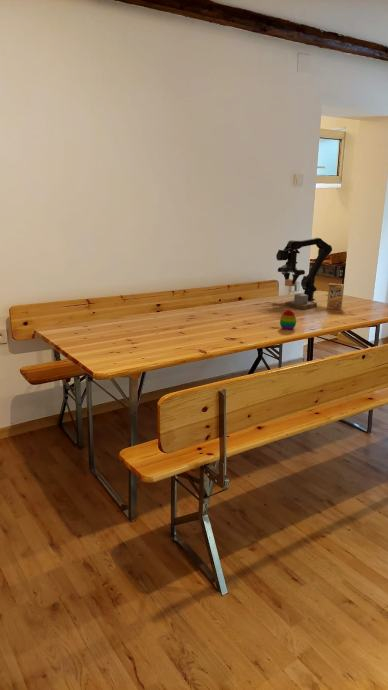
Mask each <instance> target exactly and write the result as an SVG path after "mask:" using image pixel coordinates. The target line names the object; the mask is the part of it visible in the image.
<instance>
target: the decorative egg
mask: <svg viewBox="0 0 388 690" xmlns="http://www.w3.org/2000/svg"><path fill="white" fill-rule="evenodd" d="M296 317H297V316H296V315H295V313H294V312H293V310H291V309H286V310H285V311H283V313H282V314H281V316H280V320H279V324H280V325H279V326H280V328H282V329H283V330H287V331H291V330H294V329H295V327H296V324H297V318H296Z"/></svg>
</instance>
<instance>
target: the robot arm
mask: <svg viewBox="0 0 388 690" xmlns="http://www.w3.org/2000/svg"><path fill="white" fill-rule="evenodd" d="M314 245H315V246H316V247H317V248H318V251H317V256H316V259H315V260H314V262H313V265H312V267H311V268H310V270H309V272H308V274H307V275H305V273H306V271H305V270H304V269H298V267H297V264H298V261H297V258H298V257H297V256H298V254H300V253H301V252H300V251H299V249H301V248H304V247H309V246H314ZM332 251H333V246H332V245H331V244H328V243H327V242H326V241H324V240H323V239H322V238H320V237H315V238H308V239H303V240H288V241H287V244H286V246H285V247H284V248H283V249H278V252H277V253H276V255H275V256H276V261H286V262H285V264H283V265H282V266H280V267H279V266H278V268H277V272H279V273H281V275H283V277H284V280H285V279H290V274H291V273H292V274H291V276H292V279H293V285H294V284H295V282H296V281H298V279H299V277H300V276H303V277H302V279H301V281H300V282H301V283H300V287H302V290H303V294H305V295H308V302H312V301H316V298H314V295H315V294H314V293H315V292H316V291H317V287H316V286H315V283H316V281H315V280H316V277H317V275H318V273H319V271H320V268H321V267H322V264H323V263H324V261H325V259H326V258H327V257H329V256H330V254H331V253H332ZM296 283H297V282H296Z"/></svg>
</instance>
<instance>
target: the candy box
mask: <svg viewBox="0 0 388 690" xmlns="http://www.w3.org/2000/svg"><path fill="white" fill-rule="evenodd" d="M344 287H345V284H344V283H329V284H328V290H327V300H326V301H327V303H326V309H332V310H340V311H341V310H342V307H343V299H344V290H345V289H344Z"/></svg>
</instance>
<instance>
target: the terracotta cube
mask: <svg viewBox="0 0 388 690" xmlns="http://www.w3.org/2000/svg"><path fill="white" fill-rule="evenodd" d="M296 283H297V282H295V284H294V285H293V278H292V279H291V278H289V279H285V278H284V286H285V287H286V286H287V287H295V286H296Z"/></svg>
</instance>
